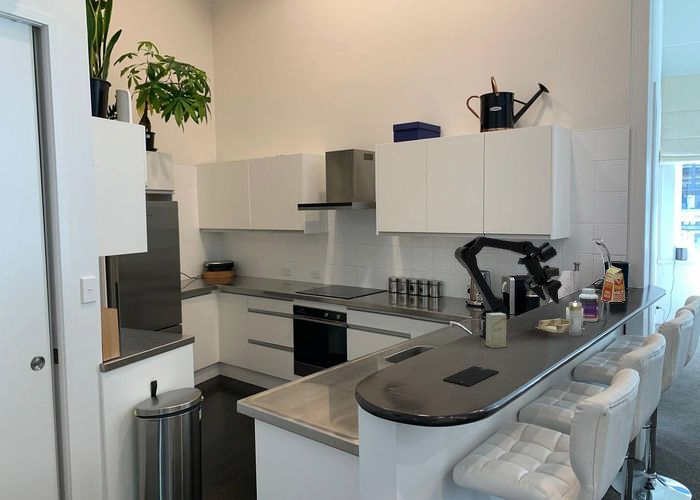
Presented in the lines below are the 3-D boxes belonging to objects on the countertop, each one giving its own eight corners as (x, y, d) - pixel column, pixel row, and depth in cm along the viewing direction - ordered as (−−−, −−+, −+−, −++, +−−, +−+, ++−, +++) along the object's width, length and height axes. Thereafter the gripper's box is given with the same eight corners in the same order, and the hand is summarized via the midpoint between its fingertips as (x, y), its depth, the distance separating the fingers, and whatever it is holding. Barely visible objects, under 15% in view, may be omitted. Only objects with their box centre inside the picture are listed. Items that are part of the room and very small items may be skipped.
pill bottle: (600, 322, 231) (600, 290, 230) (581, 322, 232) (581, 290, 231) (595, 319, 239) (595, 288, 238) (577, 318, 240) (577, 287, 239)
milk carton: (600, 301, 289) (601, 265, 287) (614, 300, 291) (614, 264, 290) (613, 303, 280) (614, 266, 279) (627, 302, 283) (627, 265, 282)
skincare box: (491, 348, 188) (491, 315, 188) (485, 345, 193) (485, 313, 192) (506, 346, 190) (507, 314, 189) (500, 344, 194) (500, 312, 194)
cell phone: (499, 374, 159) (499, 371, 159) (469, 388, 146) (469, 385, 146) (473, 368, 165) (473, 365, 165) (442, 382, 152) (442, 379, 152)
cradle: (555, 333, 210) (555, 326, 210) (535, 328, 221) (535, 321, 221) (584, 329, 216) (584, 322, 216) (564, 324, 227) (564, 318, 227)
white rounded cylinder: (575, 325, 224) (575, 309, 224) (562, 323, 231) (562, 307, 230) (586, 324, 227) (587, 308, 227) (573, 321, 234) (573, 305, 233)
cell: (575, 336, 204) (575, 302, 203) (566, 334, 208) (566, 300, 208) (583, 335, 206) (584, 301, 205) (574, 333, 210) (574, 300, 210)
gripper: (564, 260, 199) (581, 294, 202) (538, 257, 218) (554, 288, 220) (541, 275, 198) (558, 309, 200) (516, 270, 216) (532, 302, 218)
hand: (551, 301), depth 210 cm, fingers open, 9 cm apart
